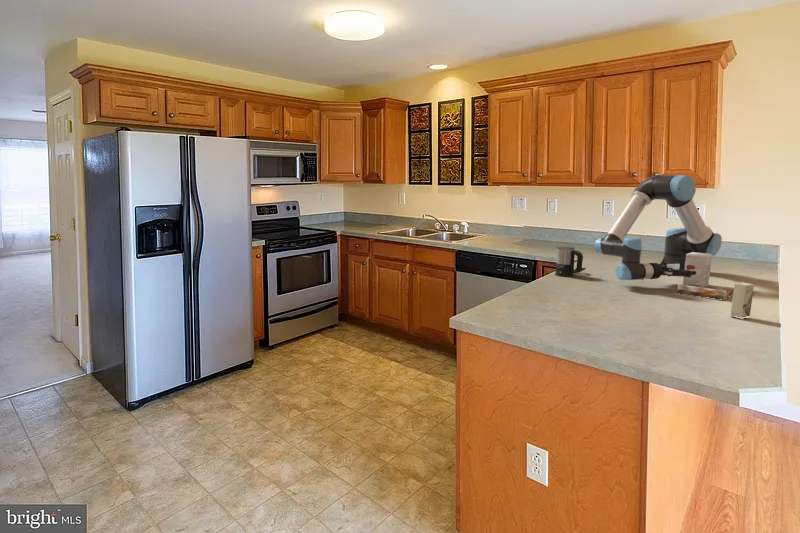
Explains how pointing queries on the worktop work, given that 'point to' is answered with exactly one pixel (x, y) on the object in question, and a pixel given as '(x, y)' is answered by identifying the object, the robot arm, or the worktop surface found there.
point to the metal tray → (705, 291)
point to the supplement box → (698, 262)
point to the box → (742, 299)
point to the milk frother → (568, 261)
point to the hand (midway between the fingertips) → (689, 269)
